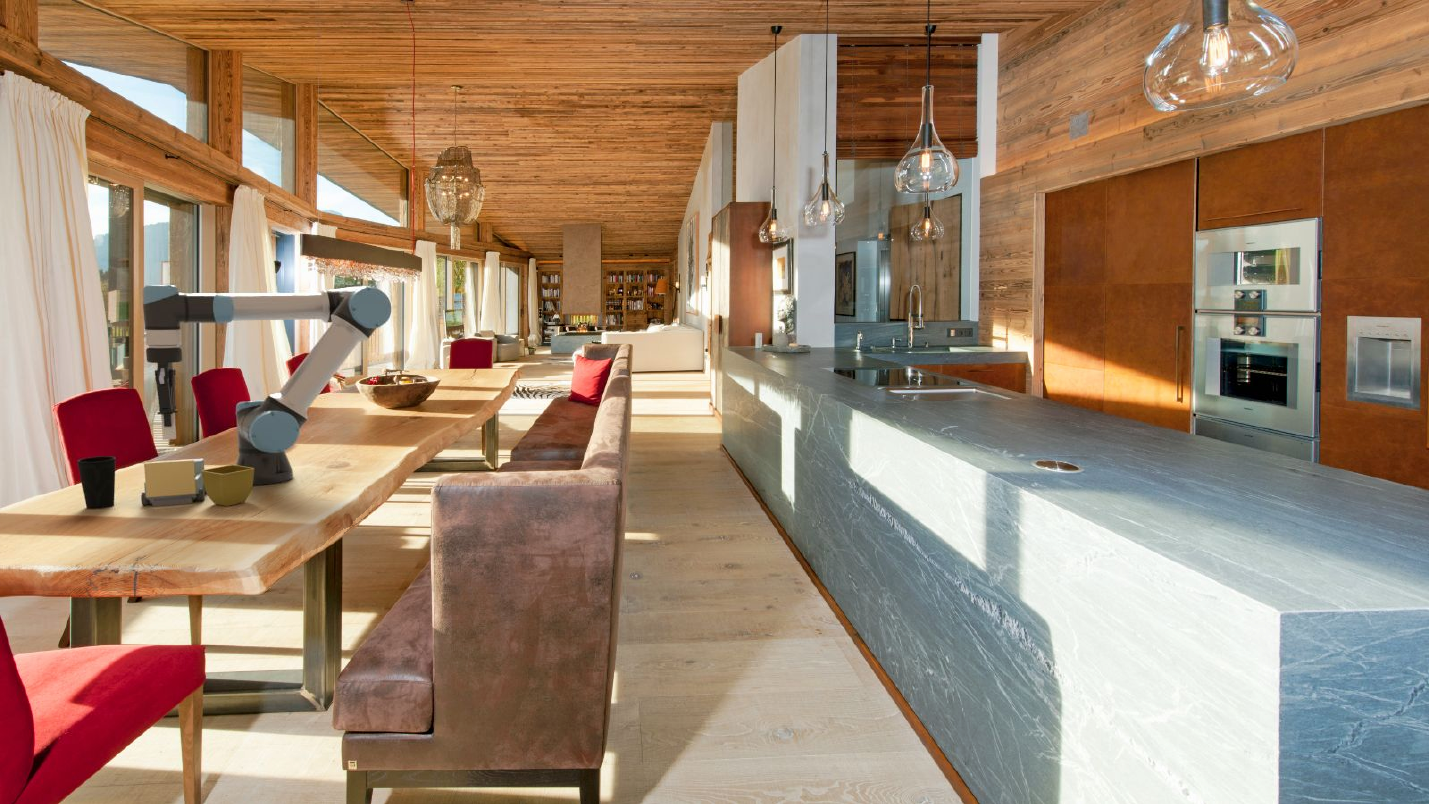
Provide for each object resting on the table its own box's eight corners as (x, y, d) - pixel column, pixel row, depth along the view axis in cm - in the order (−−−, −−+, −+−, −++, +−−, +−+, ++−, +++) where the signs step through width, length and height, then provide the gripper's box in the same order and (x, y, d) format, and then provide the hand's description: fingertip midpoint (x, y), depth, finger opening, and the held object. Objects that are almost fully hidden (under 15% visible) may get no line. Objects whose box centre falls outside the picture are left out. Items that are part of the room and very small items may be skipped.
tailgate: (196, 495, 212) (193, 459, 210) (195, 496, 211) (193, 460, 209) (147, 499, 207) (144, 462, 206) (146, 499, 206) (143, 463, 205)
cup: (99, 511, 203) (94, 462, 201) (73, 509, 204) (69, 461, 203) (126, 503, 210) (123, 457, 209) (101, 501, 212) (98, 455, 210)
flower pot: (257, 501, 214) (255, 467, 212) (225, 509, 206) (222, 474, 205) (234, 497, 217) (232, 464, 216) (202, 505, 209) (199, 470, 208)
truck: (209, 490, 225) (207, 458, 223) (202, 502, 212) (200, 467, 211) (151, 495, 219) (149, 461, 218) (141, 507, 207) (138, 472, 206)
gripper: (150, 345, 213) (156, 435, 216) (140, 348, 201) (147, 443, 204) (185, 345, 216) (190, 434, 219) (177, 348, 204) (182, 442, 207)
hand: (169, 438), depth 211 cm, fingers closed
